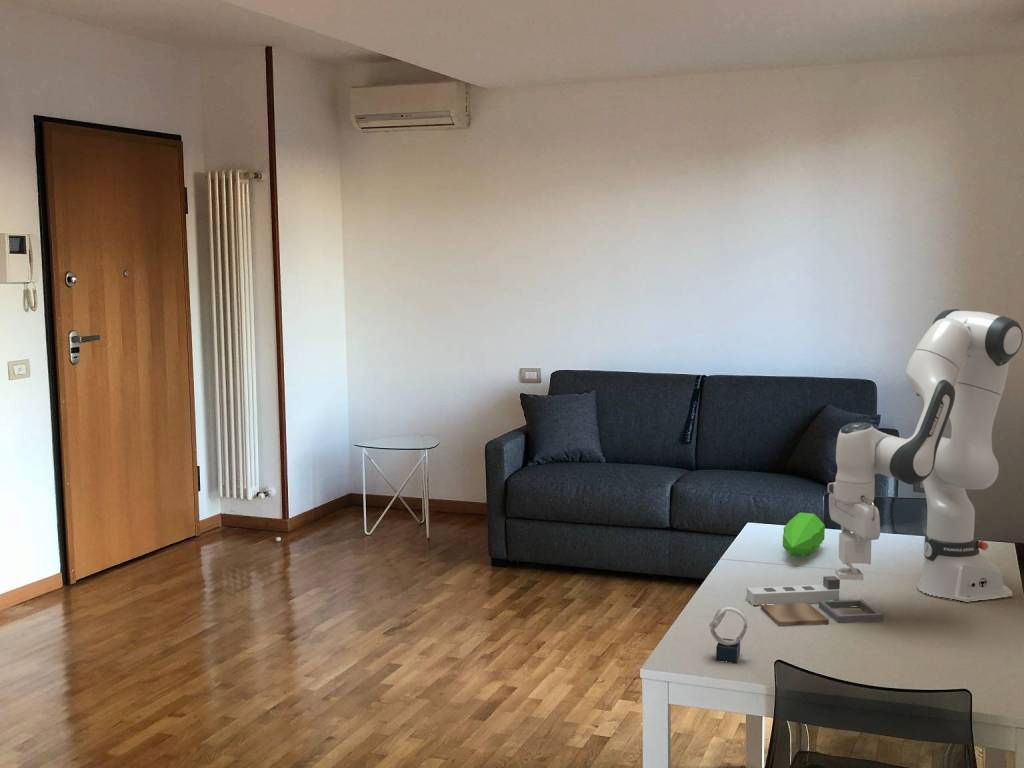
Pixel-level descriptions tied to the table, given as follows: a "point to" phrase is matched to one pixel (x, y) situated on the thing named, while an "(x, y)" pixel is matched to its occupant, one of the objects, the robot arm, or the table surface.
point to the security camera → (852, 557)
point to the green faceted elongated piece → (803, 534)
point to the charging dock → (872, 615)
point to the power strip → (795, 593)
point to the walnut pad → (794, 614)
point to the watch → (727, 647)
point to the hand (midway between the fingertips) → (853, 548)
